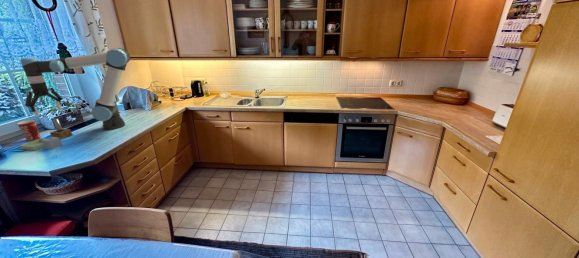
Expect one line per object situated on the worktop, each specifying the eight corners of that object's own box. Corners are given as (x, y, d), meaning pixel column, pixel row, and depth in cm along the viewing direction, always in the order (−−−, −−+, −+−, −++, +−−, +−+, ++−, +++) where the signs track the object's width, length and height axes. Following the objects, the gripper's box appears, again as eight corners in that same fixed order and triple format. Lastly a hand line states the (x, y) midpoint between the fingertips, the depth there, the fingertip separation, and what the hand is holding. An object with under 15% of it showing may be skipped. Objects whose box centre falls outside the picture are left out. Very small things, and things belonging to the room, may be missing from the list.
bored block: (64, 134, 182) (61, 128, 180) (72, 135, 180) (70, 129, 178) (52, 138, 174) (49, 132, 173) (61, 139, 173) (58, 133, 171)
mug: (22, 140, 172) (13, 123, 167) (37, 136, 180) (30, 119, 175) (32, 143, 168) (24, 125, 163) (48, 138, 176) (40, 120, 171)
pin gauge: (63, 136, 179) (56, 118, 174) (66, 136, 178) (59, 118, 173) (58, 137, 176) (51, 119, 171) (62, 138, 176) (54, 120, 170)
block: (55, 145, 164) (52, 137, 162) (62, 145, 163) (59, 137, 161) (45, 148, 159) (41, 140, 157) (52, 149, 158) (49, 141, 156)
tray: (42, 142, 169) (40, 138, 168) (55, 143, 167) (53, 139, 166) (21, 149, 158) (19, 145, 157) (35, 151, 156) (33, 146, 155)
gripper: (54, 79, 171) (65, 107, 178) (8, 85, 148) (23, 118, 156) (62, 79, 169) (72, 108, 177) (17, 86, 146) (31, 119, 154)
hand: (49, 113), depth 166 cm, fingers open, 13 cm apart
